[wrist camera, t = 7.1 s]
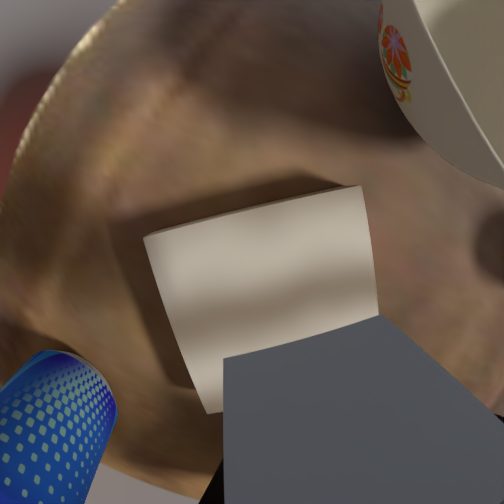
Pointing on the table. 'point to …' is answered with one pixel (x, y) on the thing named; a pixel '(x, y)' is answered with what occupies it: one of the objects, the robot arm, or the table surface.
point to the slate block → (355, 424)
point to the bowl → (449, 77)
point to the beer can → (53, 429)
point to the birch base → (263, 278)
